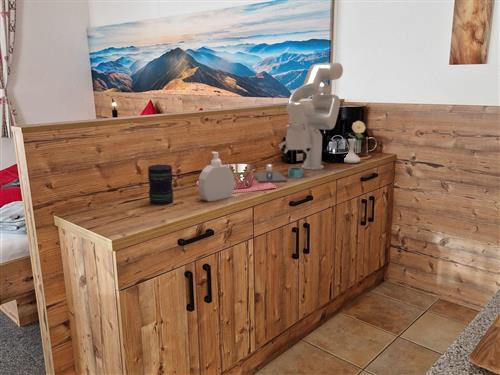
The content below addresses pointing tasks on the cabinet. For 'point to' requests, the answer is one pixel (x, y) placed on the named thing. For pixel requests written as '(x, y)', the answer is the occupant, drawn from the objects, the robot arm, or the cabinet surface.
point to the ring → (295, 172)
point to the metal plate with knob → (270, 175)
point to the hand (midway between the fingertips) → (294, 160)
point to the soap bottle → (216, 181)
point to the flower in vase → (357, 128)
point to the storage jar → (160, 184)
